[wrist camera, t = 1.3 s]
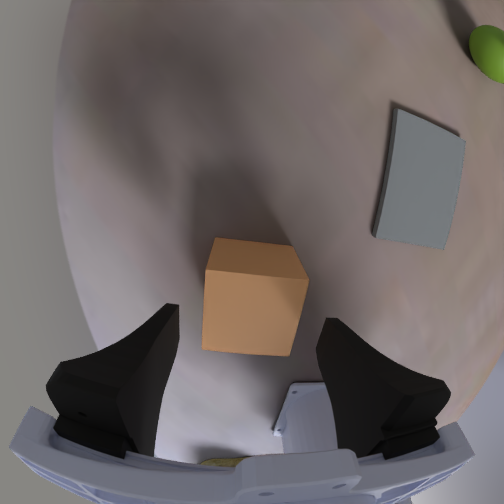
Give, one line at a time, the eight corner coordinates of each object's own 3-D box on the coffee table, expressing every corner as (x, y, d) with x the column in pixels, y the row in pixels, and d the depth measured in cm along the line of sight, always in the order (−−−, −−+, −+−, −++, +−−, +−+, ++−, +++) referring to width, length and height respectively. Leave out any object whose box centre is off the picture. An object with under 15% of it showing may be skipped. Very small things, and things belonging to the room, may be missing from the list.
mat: (439, 247, 18) (443, 249, 17) (371, 235, 17) (375, 237, 17) (460, 140, 15) (465, 140, 14) (393, 109, 14) (398, 108, 14)
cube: (279, 310, 19) (289, 356, 15) (209, 303, 19) (201, 349, 14) (292, 245, 18) (309, 280, 13) (215, 236, 17) (205, 269, 13)
